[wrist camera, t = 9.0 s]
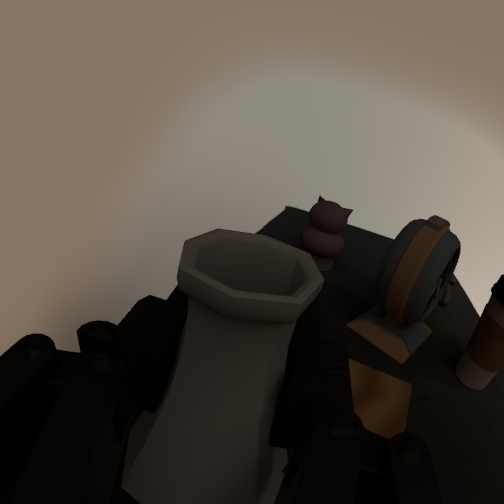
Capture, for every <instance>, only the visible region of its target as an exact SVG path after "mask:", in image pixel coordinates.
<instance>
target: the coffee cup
mask: <svg viewBox="0 0 504 504" xmlns="http://www.w3.org/2000/svg"><path fill="white" fill-rule="evenodd" d="M491 292H492V295H491V297H490V300H489V302H488V303H487V304H486V306H485V308H484V310H483V313H482V315H481V317H480V319H479V322H478V324H477V326H476V328H475V330H474V332H473V334H472V337H471V339H470V341H469V343H468V345H467V347H466V349H465V351H464V353H463V355H462V356H461V358H460V360H459V362H458V363H457V365H456V368H455V372H456V375H457V377H458V378H459V380H460V381H461V382H462V383H463V384H464V385H465V386H467V387H469V388H470V389H473V390H481V389H483V388H484V387H485V386H486V385H487V384H488V383H489V381H490V380H491V379H492V378H493V377H494V375H495V374H496V373H497V372H498V371H499V370H500V369H501V367H502V366H503V365H504V275H501V277H500V278H499V280H498V281H497V283H495V284H494V285H493V287H492V288H491Z"/></svg>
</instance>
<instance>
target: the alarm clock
mask: <svg viewBox="0 0 504 504" xmlns="http://www.w3.org/2000/svg"><path fill="white" fill-rule="evenodd" d="M449 227H450V223H449V222H448V221H447V220H445V219H443V218H441V217H439V216H436V215H434V216H432V217H430V218H429V219H428V220H424V219H417V220H413V221H411V222H410V223H409V224H407V225H406V226H405V227H404V228H403V229H402V230H401V232H400V233H399V234H398V235H397V237H396V238H395V240H394V241H393V243H392V244H391V246H390V248H389V250H388V252H387V254H386V256H385V258H384V260H383V263H382V265H381V268H380V271H379V274H378V279H377V284H376V295H377V297H378V299H379V302H380V304H378V305H376V306H375V307H373V308H371V309H369V310H368V311H366V312H364V313H363V314H361V315H359V316H357V318H356V319H355V320H353V321H352V322H350V323H348V324H347V325H346V326H348V327H349V328H351V329H352V330H353V331H355V332H356V333H358V334H359V335H360V336H362V337H363V338H365V339H366V340H367V341H369V342H370V343H372V344H373V345H374V346H376V347H377V348H379V349H380V350H381V351H383V352H384V353H386V354H387V355H388V356H390V357H391V358H393V359H394V360H395V361H397V362H398V363H400V364H401V365H402V364H403V363H404V362H405V361H406V360H407V359H408V358H409V356H410V355H411V354H412V353H413V352H414V351H415V350H416V349H417V348H418V347H419V346H420V345H421V344H422V343H423V341H424V340H425V339H426V338H427V337H428V336H429V335H430V334H431V332H432V331H431V330H430V329H429V328H428V327H427V325H426V324H425V323H424V322H423V320H425V319H426V318H427V317H428V316H429V315H430V313H431V312H432V311H433V309H434V308H435V306H436V305H437V303H438V302H439V300H440V298H441V296H442V295H443V293H444V291H445V289H446V287H447V285H448V283H449V281H450V279H451V277H452V275H453V272H454V270H455V267H456V265H457V262H458V259H459V255H460V249H461V245H460V241H459V239H458V238H457V236H456V235H455V234H453V233H452V232H451V231H450V229H449Z"/></svg>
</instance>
